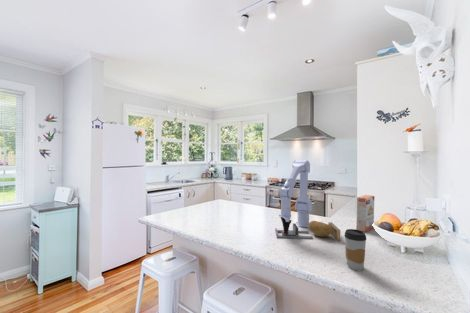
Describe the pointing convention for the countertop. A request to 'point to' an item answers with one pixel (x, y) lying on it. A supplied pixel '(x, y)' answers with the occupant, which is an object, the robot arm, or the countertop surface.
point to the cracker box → (365, 213)
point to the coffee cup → (355, 248)
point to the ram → (291, 231)
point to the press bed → (335, 235)
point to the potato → (320, 228)
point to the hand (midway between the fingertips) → (285, 230)
